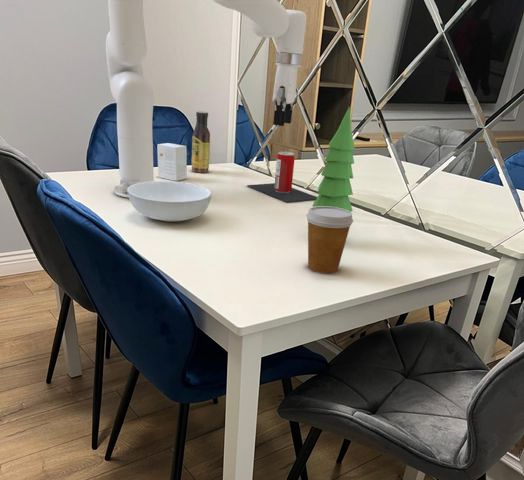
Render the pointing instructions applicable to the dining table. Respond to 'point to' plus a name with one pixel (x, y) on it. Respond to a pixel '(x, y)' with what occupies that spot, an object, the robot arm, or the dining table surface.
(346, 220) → the disposable coffee cup
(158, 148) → the small box
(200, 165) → the sauce bottle
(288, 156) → the soda can
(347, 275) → the dining table surface
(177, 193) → the serving bowl
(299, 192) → the placemat
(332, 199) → the decorative tree
